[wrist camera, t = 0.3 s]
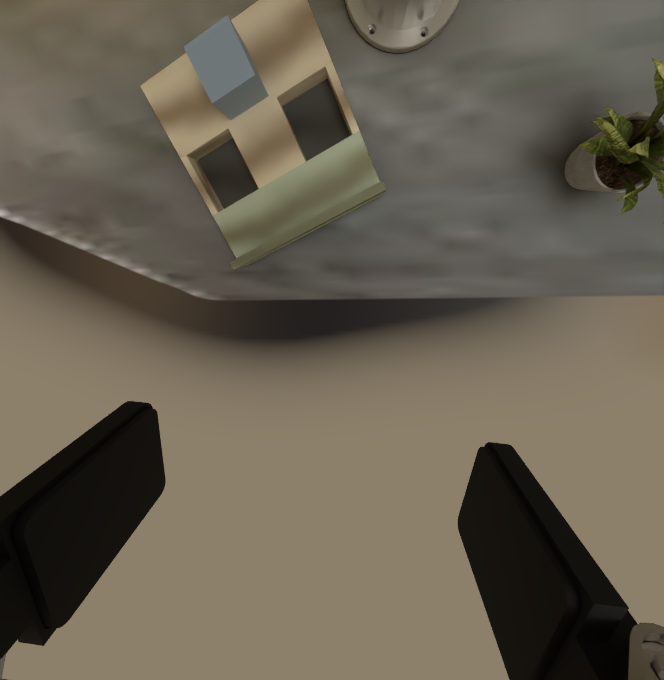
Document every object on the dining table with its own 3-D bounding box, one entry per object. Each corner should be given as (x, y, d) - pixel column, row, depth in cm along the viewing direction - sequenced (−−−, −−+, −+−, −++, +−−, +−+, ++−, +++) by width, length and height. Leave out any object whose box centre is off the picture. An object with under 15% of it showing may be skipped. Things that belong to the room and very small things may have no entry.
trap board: (156, 96, 38) (121, 73, 32) (301, -6, 34) (290, -54, 28) (248, 264, 44) (233, 270, 38) (381, 195, 40) (386, 189, 34)
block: (207, 72, 34) (183, 47, 29) (245, 45, 33) (227, 14, 28) (231, 120, 35) (212, 103, 31) (268, 95, 34) (255, 74, 30)
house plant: (637, 48, 33) (881, -109, 18) (683, 165, 36) (923, 117, 21) (511, 143, 37) (622, 80, 21) (561, 241, 40) (691, 249, 25)
